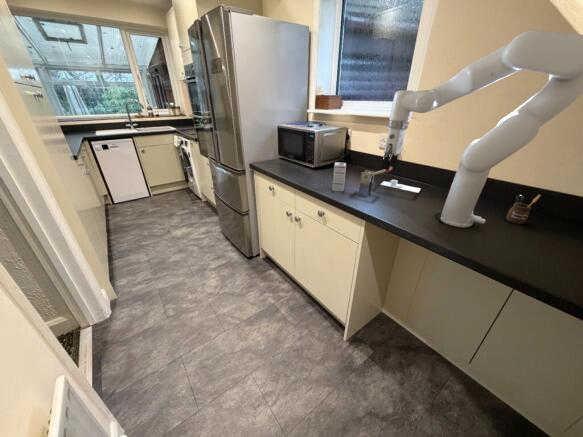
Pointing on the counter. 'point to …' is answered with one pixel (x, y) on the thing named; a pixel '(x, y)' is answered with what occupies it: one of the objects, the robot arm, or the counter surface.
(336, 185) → the syrup box
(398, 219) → the counter surface
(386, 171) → the lever
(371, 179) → the bracket
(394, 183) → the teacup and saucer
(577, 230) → the counter surface
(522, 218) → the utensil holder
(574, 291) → the counter surface
